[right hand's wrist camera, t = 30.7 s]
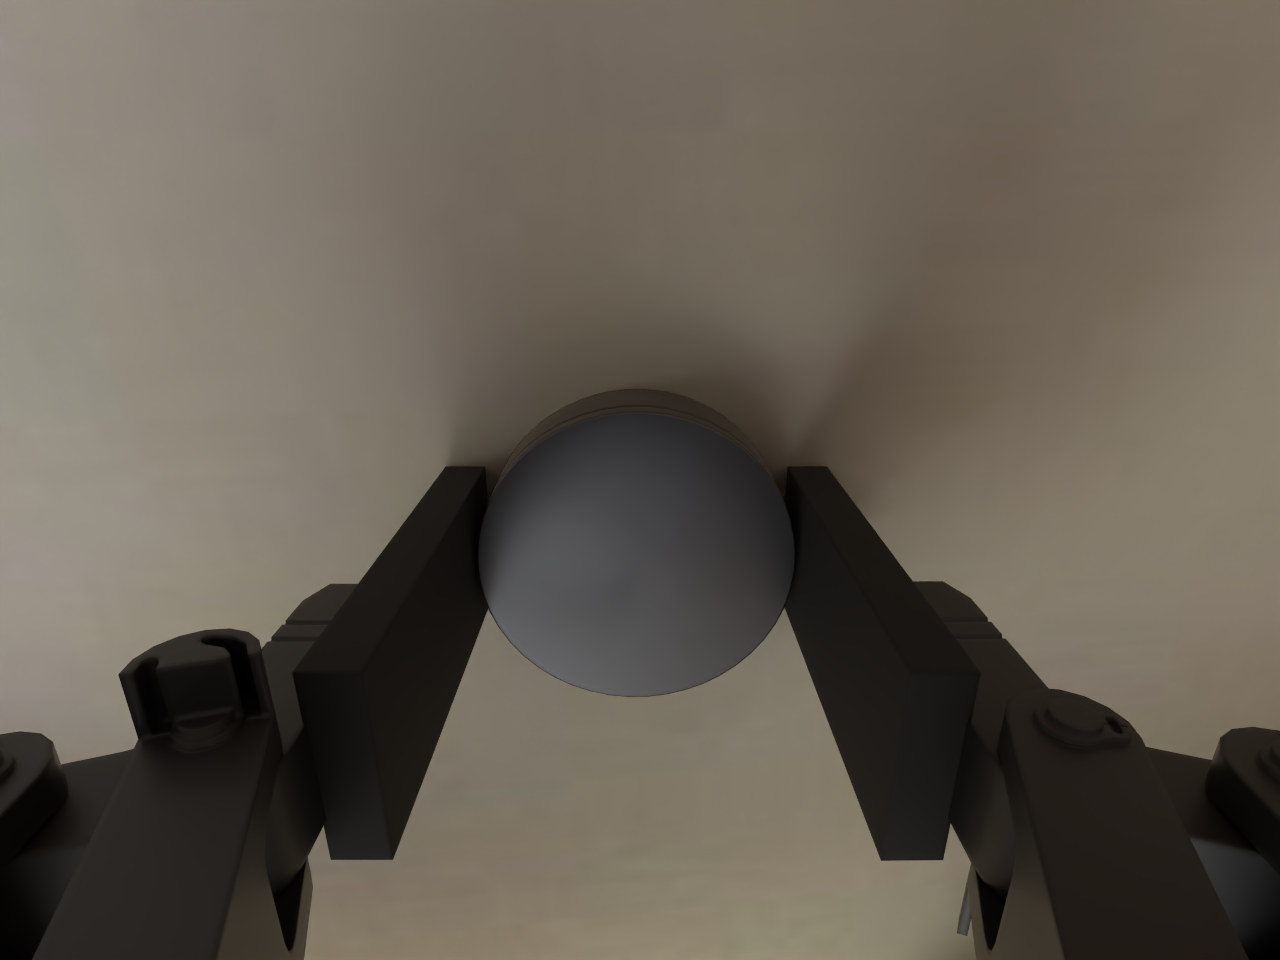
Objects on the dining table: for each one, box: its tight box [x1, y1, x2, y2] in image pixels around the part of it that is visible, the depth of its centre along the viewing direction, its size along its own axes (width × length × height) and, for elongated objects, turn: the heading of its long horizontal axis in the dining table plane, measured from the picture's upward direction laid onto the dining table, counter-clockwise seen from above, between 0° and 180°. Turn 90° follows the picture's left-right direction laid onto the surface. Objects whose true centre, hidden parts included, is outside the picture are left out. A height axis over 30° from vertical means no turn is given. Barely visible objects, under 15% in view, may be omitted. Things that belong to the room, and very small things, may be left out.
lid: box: [476, 390, 796, 697], centre depth 13 cm, size 6×6×2 cm
